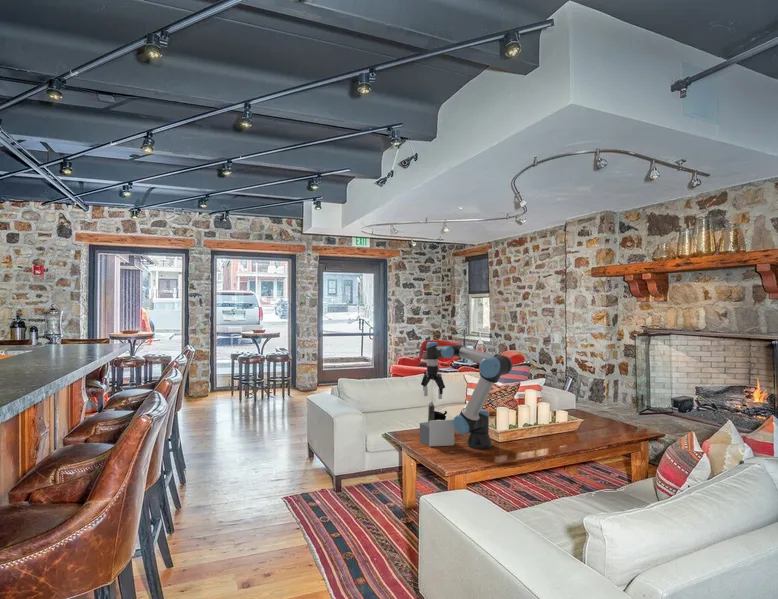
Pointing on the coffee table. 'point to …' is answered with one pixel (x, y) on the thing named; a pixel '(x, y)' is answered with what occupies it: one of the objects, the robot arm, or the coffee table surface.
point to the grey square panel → (441, 433)
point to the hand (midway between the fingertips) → (432, 397)
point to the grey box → (425, 433)
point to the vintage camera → (435, 413)
